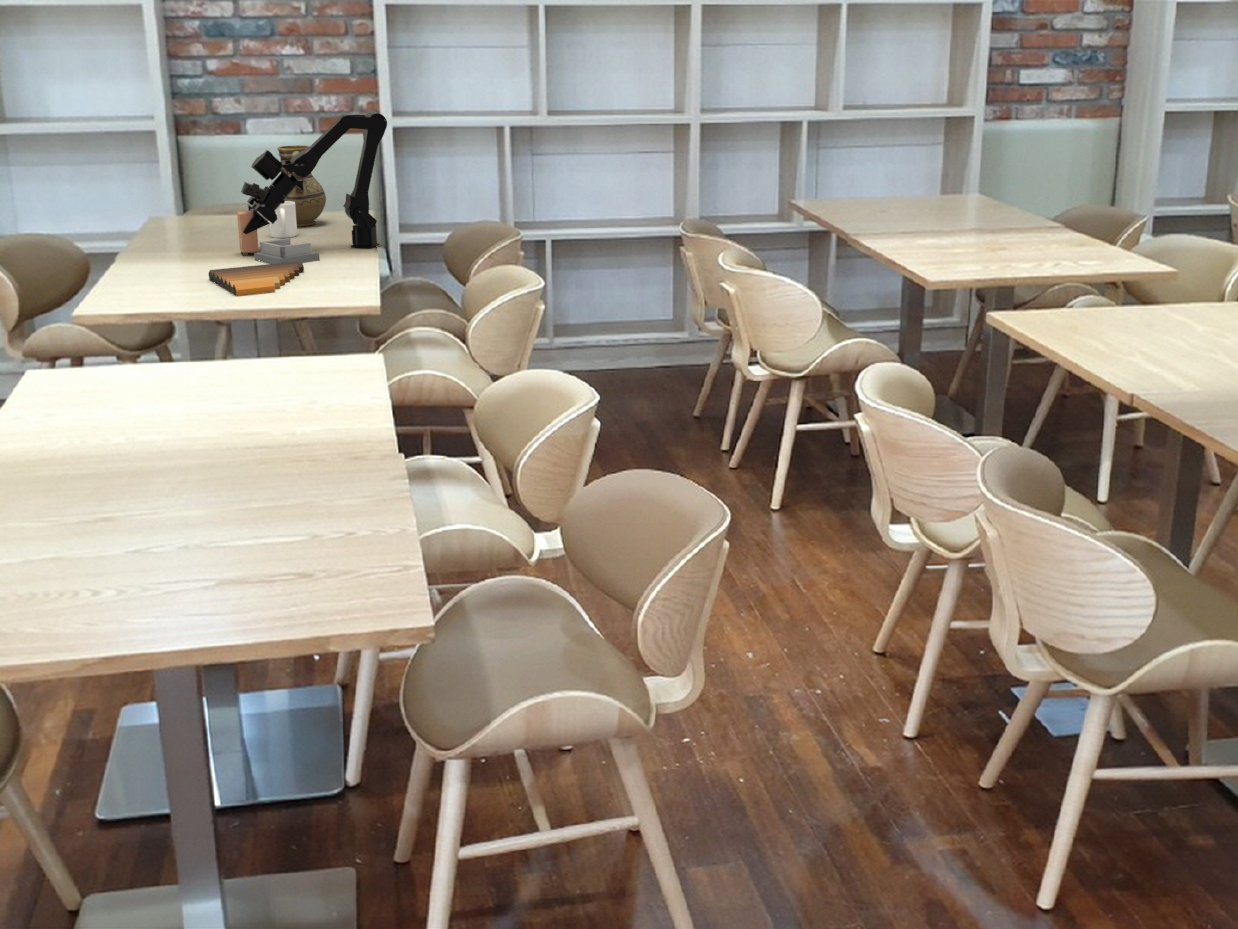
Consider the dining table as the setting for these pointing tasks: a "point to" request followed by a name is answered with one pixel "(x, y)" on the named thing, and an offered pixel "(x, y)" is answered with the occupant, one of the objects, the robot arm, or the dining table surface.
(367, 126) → the robot arm
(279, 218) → the mug
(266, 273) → the pan flute
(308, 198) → the decorative pitcher
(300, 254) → the dock
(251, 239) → the peach block
